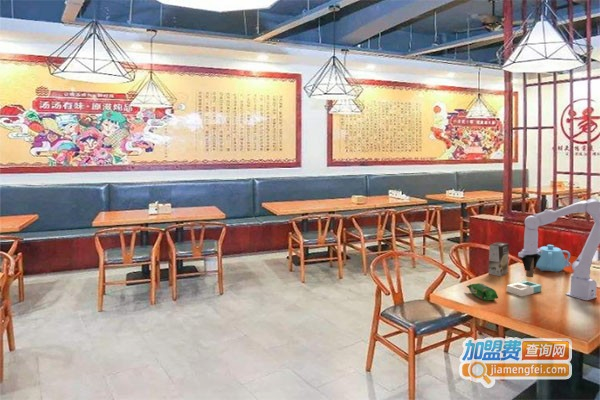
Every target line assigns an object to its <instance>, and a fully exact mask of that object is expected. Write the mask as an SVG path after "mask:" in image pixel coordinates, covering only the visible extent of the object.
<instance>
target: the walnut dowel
mask: <svg viewBox="0 0 600 400" xmlns="http://www.w3.org/2000/svg"><path fill="white" fill-rule="evenodd" d="M525 271H526V270H525ZM534 271H535V270H534V258H533V260H532V262H531V267H530V271H526V272H525V273H526V274H525V276H526V277H527V278H534Z"/></svg>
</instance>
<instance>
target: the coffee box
mask: <svg viewBox="0 0 600 400" xmlns="http://www.w3.org/2000/svg"><path fill="white" fill-rule="evenodd" d="M509 248H510V243H506V242H500V241H498V242H493V243H490V244H489V251H488V252H489V253H488V254H489V256H488V257H489V258H488V274H489V275H491V276H492V275H493V276H498V277H502V276H504V275H506V274H508V273H509V258H510V257H509V255H510V250H509Z"/></svg>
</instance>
